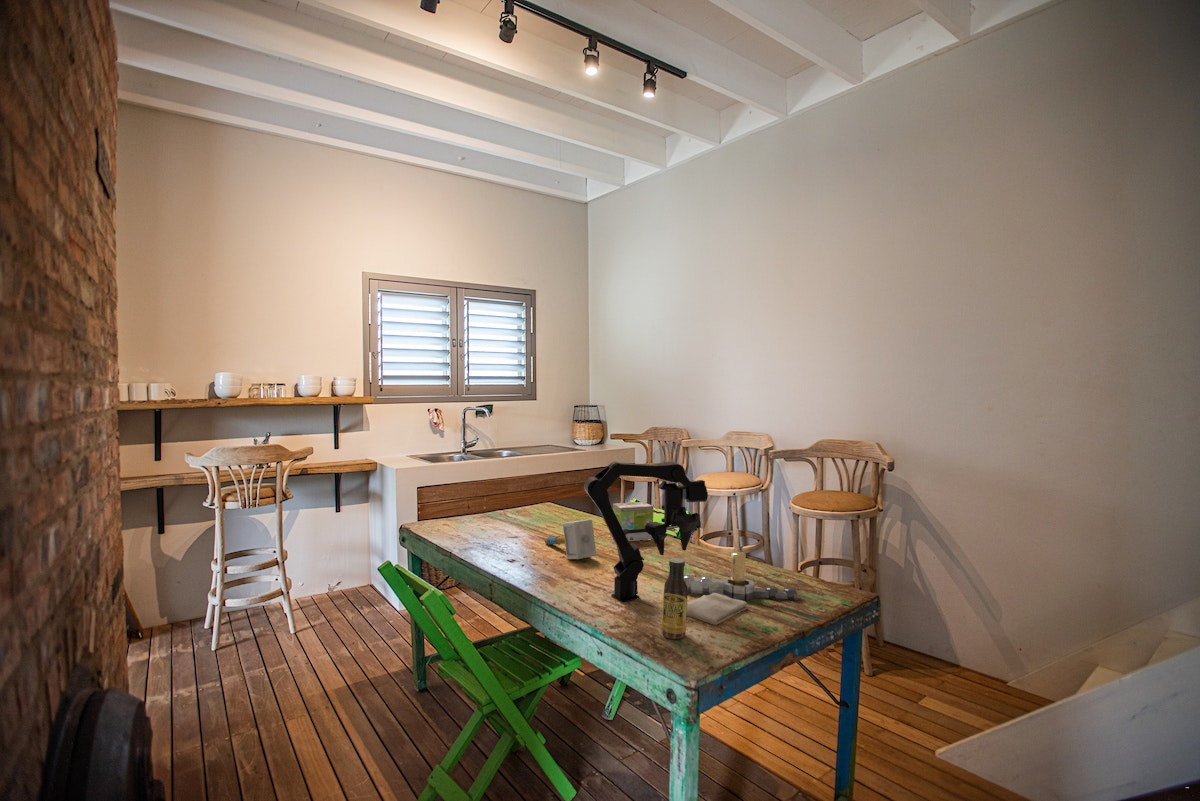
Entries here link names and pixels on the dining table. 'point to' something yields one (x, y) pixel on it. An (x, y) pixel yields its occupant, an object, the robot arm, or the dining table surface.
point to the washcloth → (714, 608)
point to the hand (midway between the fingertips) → (673, 552)
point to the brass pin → (738, 568)
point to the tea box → (634, 519)
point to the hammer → (576, 539)
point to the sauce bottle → (675, 601)
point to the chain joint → (736, 589)
